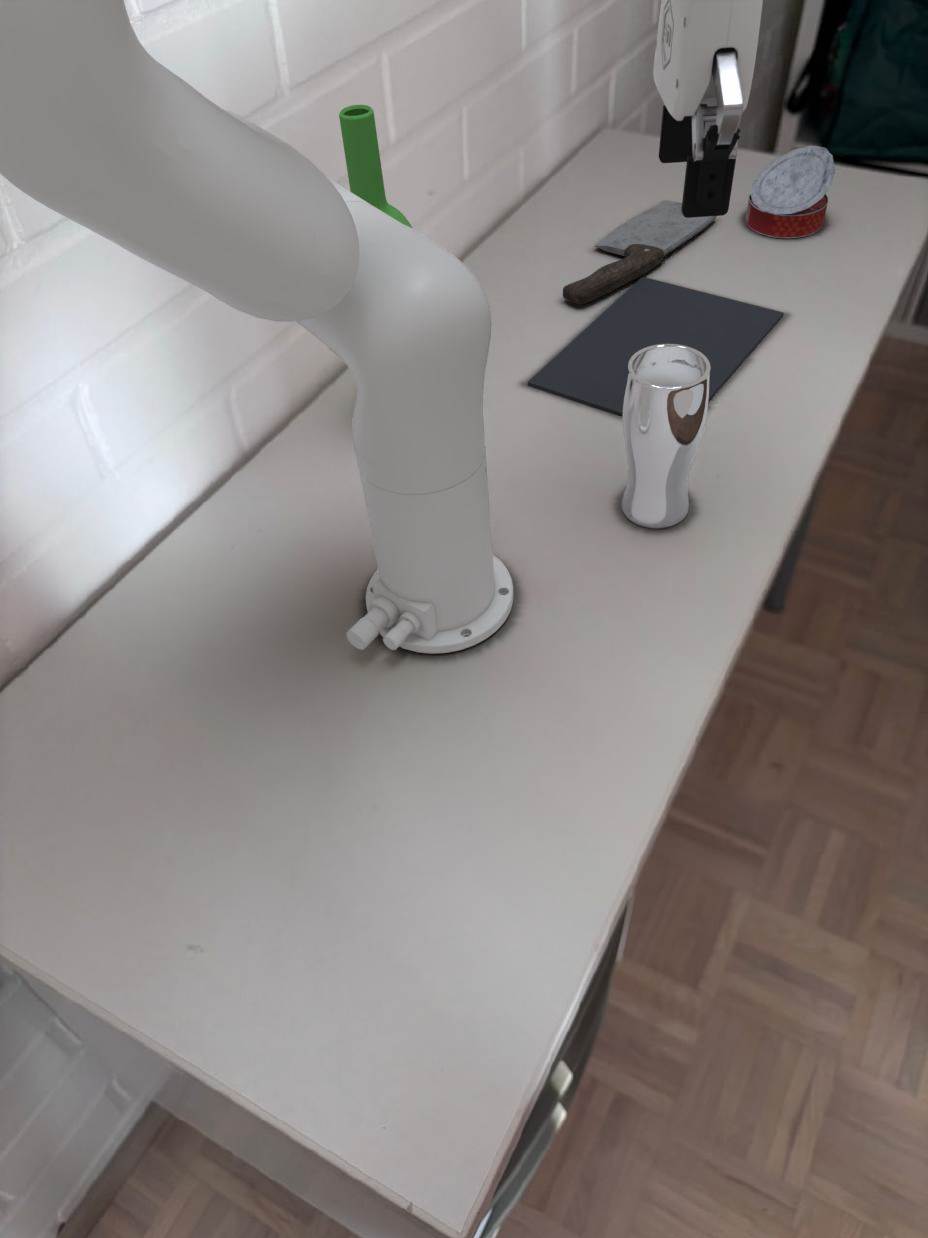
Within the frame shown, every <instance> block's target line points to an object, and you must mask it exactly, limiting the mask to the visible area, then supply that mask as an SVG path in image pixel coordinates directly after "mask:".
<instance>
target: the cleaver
mask: <svg viewBox="0 0 928 1238" xmlns="http://www.w3.org/2000/svg"><path fill="white" fill-rule="evenodd" d="M681 208H682V202H678V201H664V202H661V203H659V204H658V205H655V206H653V207H651V208H649V209H648V210H645V211H644V212H642V213H640V214H637V215H636V216H634V217H633V218H631V219H629V220H628V221H626V222H625V223H623V224H621V225H619V226H618V227H617V228H615V229H614V230H613V231H611V232H610V233H608V234H607V235H605V236H604V237H603V238H601V240H599V241H598V242H597V243H595V244H594V247H596V248H598V249H599V250H602V251H604V252H607V253H609V254H615V255H618V256H623V258H622V259H619V260H616V261H613V262H610V263H608V264H605V265H603V266H600V267H599V268H598V269H596V270H595V271H594V272H593V273H591V274H590V275H588V276H586V277H584V278H581V279H578V280H576V281H574V282H571V283H568V284H566V285H564V286H563V288H562V297H563V299H564V300H565V301H567V302H570V303H573V304H575V305H585V304H587V303H590V302H593V301H594V300H597V299H600V298H601V297H604V296H606V295H607V294H610V293H611V292H613V291H616V290H617V289H619V288H621V287H623V286H625V285H627V284H630V283H631V282H633V281H634V280H636V279H638V278H641V277H642V276H643V275H645V274H646V273H648V272H649V271H651V270H653V269H654V268H655V267H657V266H659V265H660V264H661V263H662V262H663V261H664V259H665V256H667V255H668V254H669V253H671V252H672V251H674V250H675V249H677V248H678V247H680V246H681V245H683V244H685V243H686V242H687V241H689V240H691V239H692V238H693V237H695V236H697V235H698V234H699V233H701V232H702V231H703V230H705V229H706V228H707V227H708V226H709V225H710V224H712V223H713V222H714V221H715V220H716V219H717V217H718V216H708V217H691V218H686V217H684V216H683V214H682V211H681Z"/></svg>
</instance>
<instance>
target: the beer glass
mask: <svg viewBox="0 0 928 1238" xmlns="http://www.w3.org/2000/svg"><path fill="white" fill-rule="evenodd" d="M709 377H710V362H709V360H708V359H707V357H706V356H705V355H703V354H702V353H701V352H699V351H698V350H696V349H693V348H691V347H687V346H684V345H678V344H658V345H653V346H649V347H646V348H643V349H641V350H639V351H638V352H636V353H635V354H634V355H633V356H632V357H631V358H630V360H629V363H628V373H627V379H626V385H625V391H624V400H623V416H622V431H623V433H622V435H623V441H624V448H625V454H626V455H625V456H626V461H627V462H626V463H627V481H626V486H625V489H624V492H623V495H622V499H621V509H622V513H623V514H624V515H625V517H626V518H627V519H628V520H629V521H630V522H631V523H634V524H635V525H637V526H640V527H643V528H647V529H665V528H671V527H673V526H675V525H677V524H679V523H681V522H682V521H683V520H684V519H685V518H686V516H687V514H688V513H689V508H690V503H689V492H688V483H689V476H690V471H691V468H692V465H693V462H694V459H695V457H696V454H697V452H698V449H699V445H700V443H701V439H702V437H703V433H704V430H705V426H706V422H707V415H708V407H709V401H708V399H709Z"/></svg>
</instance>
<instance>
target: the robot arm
mask: <svg viewBox="0 0 928 1238" xmlns="http://www.w3.org/2000/svg"><path fill="white" fill-rule="evenodd" d="M763 2H764V0H660V9H659V17H658V25H657V33H656V40H655V41H656V42H655V50H654V60H653V68H652V76H653V81H654V84H655V87H656V89H657V91H658V94H659V96H660V98H661V100H662V102H663V104H664V105H662V115H661V125H660V135H659V146H658V147H659V148H658V159H659V162H660V163H661V164H675V163H677V164H678V163H686V167H685V172H684V173H685V174H684V183H683V191H682V199H681V200H682V202H681V203H682V208H681V211H682V214H683V216H684V217H686V218H691V217H708V216H717V217H722V216H725V215H727V214H728V212H729V209H730V201H731V197H732V196H731V195H732V188H733V182H734V175H735V170H736V164H737V163H736V162H737V156H738V151H739V139H740V138H741V137H740V135H739V134H740V133H741V129H740V128H739V126H740V122H741V120H742V116H743V112H745V111H746V110H747V107H748V104H749V103H748V102H749V99H750V94H751V89H752V84H753V78H754V74H755V73H754V72H755V66H756V60H757V51H758V44H759V37H760V29H761V20H762V11H763V4H764V3H763ZM708 104H716V105H711V106H710V105H709V106H708ZM707 123H715V124H711V125H709V128H708V130H707V131H706V134H705V129H706V128H705V127H706V124H707ZM0 175H1V176H2V177H4V179H6V180H7V181H8V182H9V183H11V184H12V185H13V186H14V187H16V188H17V189H18V190H19V191H21V192H22V193H24V194H25V195H26V196H29V197H30V198H31V199H33V200H35V201H36V202H38V203H39V204H41V205H43V206H45V207H46V208H48V209H50V210H52V211H54V212H56V213H57V214H59V215H61V216H63V217H65V218H67V219H68V220H71V221H72V222H74V223H76V224H78V225H80V226H82V227H84V228H85V229H87V230H90V231H91V232H94V233H95V234H97V235H99V236H101V237H102V238H105V239H106V240H108V241H110V242H112V243H114V244H115V245H117V246H119V247H121V248H122V249H124V250H126V251H127V252H129V253H131V254H133V255H135V256H136V257H138V258H140V259H141V260H144V261H145V262H147V263H149V264H152V265H154V266H155V267H157V268H160V269H162V270H163V271H165V272H167V273H169V274H171V275H173V276H175V277H177V278H179V279H181V280H182V281H185V282H187V283H189V284H191V285H193V286H194V287H197V288H198V289H200V290H202V291H204V292H205V293H208V294H209V295H211V296H212V297H213V298H215V299H217V300H218V301H220V302H221V303H223V304H225V305H227V306H229V307H230V308H233V309H234V310H236V311H239V312H241V313H244V314H246V315H249V316H252V317H255V318H257V319H263V320H266V321H272V322H283V323H284V322H290V323H295V322H296V323H297V324H298V325H300V326H302V327H303V328H304V329H305V330H306V331H307V332H309V333H310V334H311V335H312V336H314V337H315V338H316V339H317V340H319V342H321V343H322V344H323V345H324V346H326V347H327V349H328V350H329V351H330V352H332V353H333V354H334V355H335V356H336V357H338V358H339V359H340V360H341V361H342V363H344V364H345V366H346V367H347V368H348V369H349V370H350V372H351V374H352V376H353V379H354V382H355V388H356V398H355V403H354V407H353V411H352V418H351V433H352V434H351V435H352V442H353V449H354V454H355V459H356V465H357V468H358V471H359V476H360V482H361V488H362V492H363V493H362V494H363V497H364V503H365V508H366V513H367V520H368V524H369V529H370V534H371V540H372V545H373V549H374V556H375V560H376V565H377V569H376V570H375V572H374V573H373V574H372V575H371V577H370V580H369V582H368V584H367V587H366V592H365V605H366V606H365V608H366V611H367V613H366V614H365V615H364V616H363V617H361V618H360V619H358V621H357V622H355V623H354V625H352V626H351V627H350V628H349V629H348V630H347V632H346V633H345V635H346V639H347V640H348V642H349V643H350V644H351V645H352V646H353V647H354V648H356V649H358V650H361V651H363V650H365V649H366V648H367V647H368V646H369V645H370V644H371V643H372V642H373V641H374V640H375V639H376V638H377V637H378V636H379V635H380V636H381V637H382V642H383V644H384V645H385V646H386V648H388V649H389V650H391V651H396V650H397V649H398V648H401V649H404V650H408V651H411V652H416V653H422V654H432V655H433V654H447V653H448V654H449V653H453V652H458V651H462V650H465V649H467V648H471V647H473V646H476V645H477V644H479V643H482V642H483V641H485V640H487V639H488V638H489V637H491V636H492V635H494V633H496V632H497V631H498V630H499V629H500V628H501V627H502V626H503V625H504V624H505V622H506V621H507V618H508V617H509V615H510V613H511V611H512V609H513V608H512V607H513V604H514V603H513V602H514V585H513V584H514V583H513V579H512V576H511V574H510V571H509V569H508V568H507V566H506V565H505V564H504V562H503V561H502V560H501V559H500V558H499V557H497V556H496V555H495V554H493V539H492V538H493V537H492V524H491V523H492V522H491V509H490V494H489V478H488V464H487V450H486V440H485V439H486V438H485V423H484V422H485V420H484V390H485V389H484V388H485V378H486V377H485V376H486V368H487V363H488V356H489V352H490V351H489V350H490V344H491V337H492V315H491V314H492V313H491V307H490V304H489V300H488V297H487V294H486V293H485V290H484V289H483V286H482V285H481V283H480V282H479V280H478V278H477V277H476V276H475V274H473V272H472V271H471V270H470V269H469V267H468V266H467V265H466V264H465V263H464V262H463V261H462V260H460V259H459V258H458V257H456V255H455V254H453V253H451V252H450V251H449V250H447V249H446V248H445V247H443V246H442V245H440V244H439V243H437V242H435V241H434V240H432V239H431V238H428V237H427V236H425V235H424V234H422V233H421V232H419V231H417V230H416V229H414V228H413V227H412V228H413V229H412V228H411V227H409V226H406V225H404V224H402V223H400V222H399V221H397V220H395V219H394V218H392V217H391V216H389V215H387V214H386V213H384V212H382V211H381V210H379V209H377V208H376V207H374V206H372V205H371V204H369V203H368V202H366V201H364V200H363V199H361V198H360V197H358V196H356V195H355V194H353V193H352V192H350V190H348V189H347V188H345V187H344V186H342V185H341V184H339V183H338V182H336V181H335V180H333V179H332V178H331V177H329V176H328V175H326V174H325V173H324V172H323V171H321V169H320V168H319V167H318V166H317V165H316V164H315V163H313V162H312V160H310V159H309V158H308V157H307V156H305V154H303V153H301V152H300V151H298V150H297V149H296V148H295V147H294V146H292V145H291V144H289V143H287V142H286V141H284V140H282V139H281V138H279V137H278V136H276V135H274V134H272V133H271V132H269V131H267V130H266V129H265V128H262V127H261V126H259V125H257V124H255V123H254V122H252V121H251V120H249V119H247V118H245V117H243V116H242V115H240V114H238V113H235V112H234V111H231V110H228V109H224V108H223V107H220V106H219V105H217V104H216V103H215V102H213V101H211V100H210V99H209V98H207V97H206V96H205V95H204V94H202V93H201V92H200V91H198V90H197V89H196V88H194V87H193V86H192V85H191V84H189V83H188V82H187V81H186V80H184V79H183V78H181V77H180V76H178V75H177V74H176V73H174V72H173V71H171V70H170V69H169V68H167V67H166V66H165V65H163V64H162V63H160V62H159V61H158V60H156V59H155V58H154V57H153V56H152V55H151V54H150V53H149V52H148V51H147V50H146V49H145V47H144V46H143V44H142V43H141V42H140V40H139V38H138V36H137V34H136V32H135V30H134V28H133V26H132V23H131V20H130V17H129V14H128V11H127V7H126V3H125V0H0Z"/></svg>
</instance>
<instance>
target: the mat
mask: <svg viewBox="0 0 928 1238" xmlns="http://www.w3.org/2000/svg"><path fill="white" fill-rule="evenodd" d="M783 317H784V312H783V311H779V310H775V309H771V308H767V307H763V306H759V305H755V304H752V303H748V302H744V301H740V300H736V299H732V298H729V297H723V296H720V295H717V294H713V293H708V292H704V291H701V290H697V289H692V288H689V287H684V286H680V285H676V284H673V283H669V282H664V281H662V280H657V279H653V278H649V277H645V276H641V277H639V279H638V280H637V281H635V283H634V284H633V285H632V286H630V288H628V289H627V290H626V291H625V292H623V294H622V295H620V296H619V297H618V298H617V300H615V301H614V302H613V303H612V304H611V305H609V306H608V308H606V309H605V310H604V311H603V312H602V313H601V314H600V315H599V316H597V318H595V320H594V321H592V322H591V323H590V324H589V325H588V326H587V327H586V328H585V329H583V330H582V331H581V332H580V333H579V334H578V335H577V336H576V337H575V338H574V339H573V340H572V341H571V342H570V343H568V344H567V345H566V346H564V348H562V349H561V351H560V352H558V354H555V356H554V357H553V358H551V360H550V361H548V363H546V364H545V365H544V366H543V367H542V368H541V369H540V370H539V371H537V373H536V374H534V376H532V377H531V378H530V379H529V380H528V381H527V386H530V387H532V388H535V389H539V390H542V391H545V392H548V393H550V394H554V395H556V396H560V397H563V398H566V399H569V400H572V401H575V402H578V403H581V404H585V405H587V406H589V407H594V408H596V409H600V410H603V411H606V412H608V413H612V414H614V415H618V416H621V417H623V400H624V391H625V385H626V379H627V373H628V363H629V360H630V358H631V357H632V356H633V355H634V354H635V353H636V352H638V351H639V350H641V349H643V348H646V347H649V346H653V345H658V344H678V345H684V346H687V347H691V348H693V349H696V350H698V351H699V352H701V353H702V354H703V355H705V356H706V357H707V359H708V360H709V362H710V377H709V399H708V402H709V401H710V400H711V399H712V398H713V397H714V396H715V394H717V392H718V391H719V390H720V389H721V388H722V387H723V385H724V384H725V383H726V382H727V381H728V380H729V379H730V377H731V376H733V374H734V373H735V371H736V370H738V368H739V367H740V366H741V365H742V364H743V362H744V361H745V360H746V359H747V358H748V357H749V356H750V354H751V353H752V352H753V351H754V350H755V349H756V348H757V346H758V345H759V344H760V343H761V342H762V340H763V339H765V337H766V336H767V334H768V333H769V332H770V331H771V330H772V329H773V328H774V327H775V326H776V325H777V324H778V323H779V321H780V320H781V318H783Z"/></svg>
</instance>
